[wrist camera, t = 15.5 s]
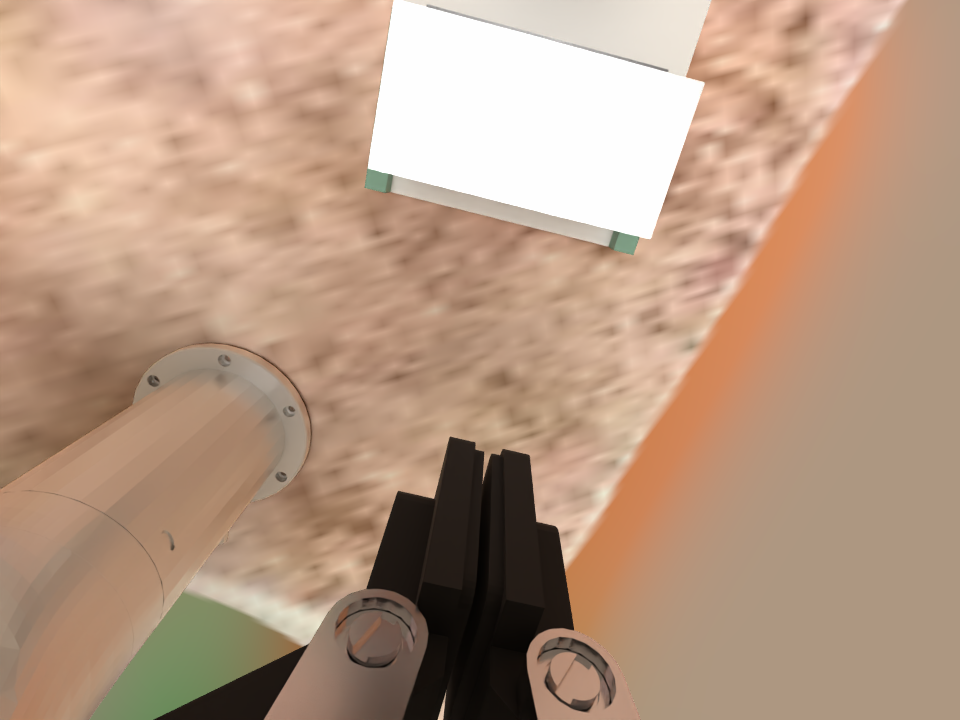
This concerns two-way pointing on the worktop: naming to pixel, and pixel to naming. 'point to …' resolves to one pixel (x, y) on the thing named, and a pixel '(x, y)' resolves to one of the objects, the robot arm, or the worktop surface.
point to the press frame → (589, 23)
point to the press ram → (529, 119)
